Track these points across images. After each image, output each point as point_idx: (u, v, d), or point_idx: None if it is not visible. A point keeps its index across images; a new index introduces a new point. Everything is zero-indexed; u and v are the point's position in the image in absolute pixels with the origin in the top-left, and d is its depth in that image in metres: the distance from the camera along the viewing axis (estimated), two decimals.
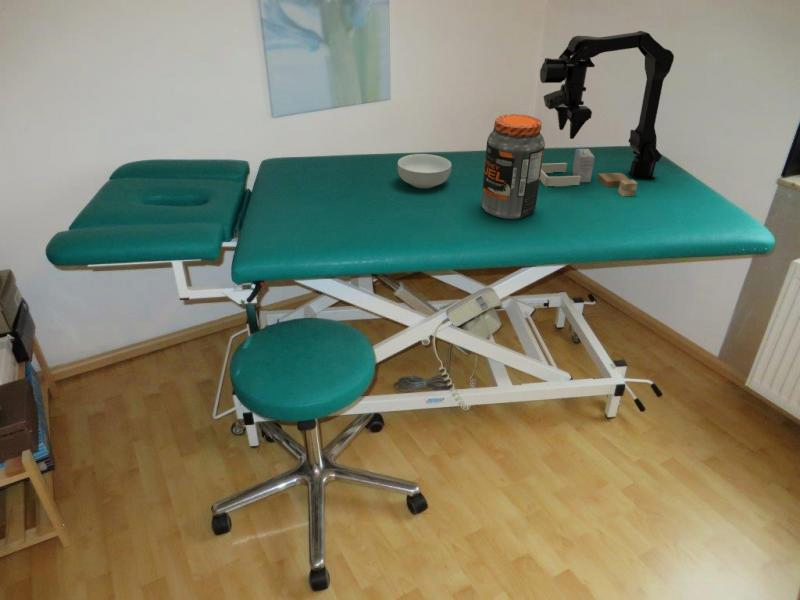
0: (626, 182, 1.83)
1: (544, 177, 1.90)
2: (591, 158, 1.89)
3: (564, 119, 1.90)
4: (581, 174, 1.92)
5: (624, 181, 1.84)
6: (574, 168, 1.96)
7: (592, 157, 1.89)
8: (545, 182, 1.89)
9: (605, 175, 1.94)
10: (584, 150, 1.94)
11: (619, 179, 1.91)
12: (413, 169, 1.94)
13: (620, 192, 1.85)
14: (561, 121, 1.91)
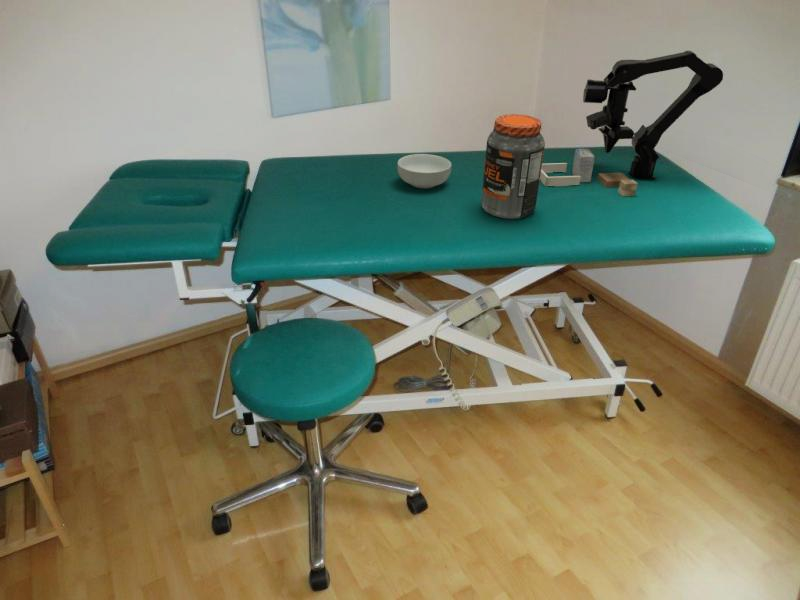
0: (626, 182, 1.83)
1: (544, 177, 1.90)
2: (591, 158, 1.89)
3: None
4: (581, 174, 1.92)
5: (624, 181, 1.84)
6: (574, 168, 1.96)
7: (592, 157, 1.89)
8: (545, 182, 1.89)
9: (605, 175, 1.94)
10: (584, 150, 1.94)
11: (619, 179, 1.91)
12: (413, 169, 1.94)
13: (620, 192, 1.85)
14: None
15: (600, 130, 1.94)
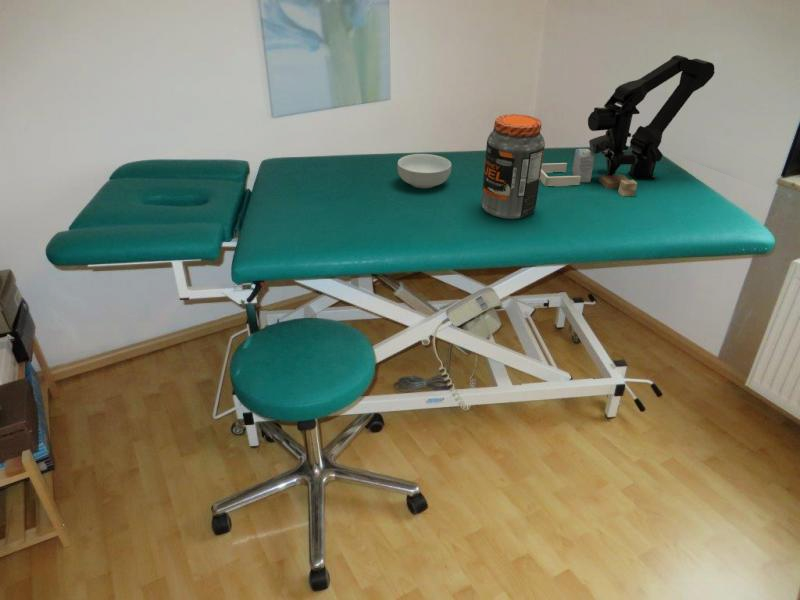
0: (626, 182, 1.83)
1: (544, 177, 1.90)
2: (591, 158, 1.89)
3: None
4: (581, 174, 1.92)
5: (624, 181, 1.84)
6: (574, 168, 1.96)
7: (592, 157, 1.89)
8: (545, 182, 1.89)
9: (606, 177, 1.93)
10: (584, 150, 1.94)
11: None
12: (413, 169, 1.94)
13: (620, 192, 1.85)
14: None
15: (603, 154, 1.93)
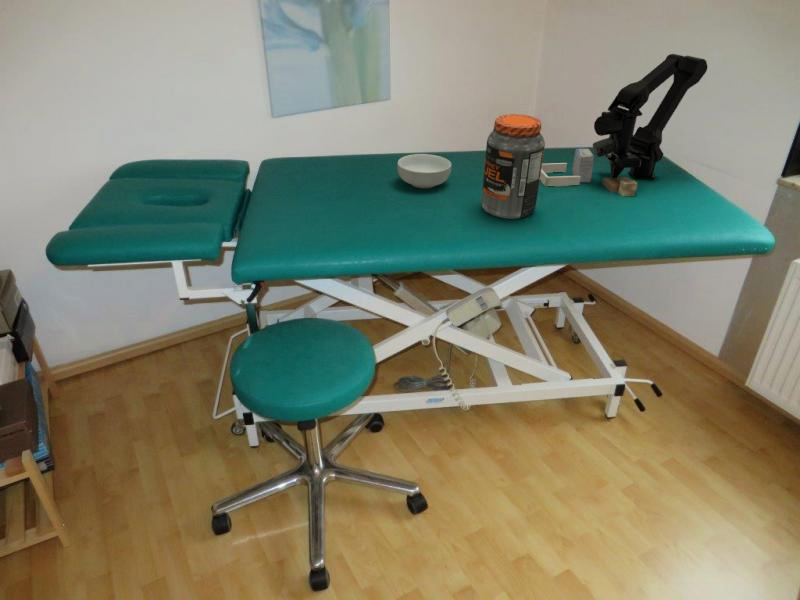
0: (626, 182, 1.83)
1: (544, 177, 1.90)
2: (591, 158, 1.89)
3: None
4: (581, 174, 1.92)
5: (624, 181, 1.84)
6: (574, 168, 1.96)
7: (592, 157, 1.89)
8: (545, 182, 1.89)
9: (611, 180, 1.90)
10: (584, 150, 1.94)
11: None
12: (413, 169, 1.94)
13: (620, 192, 1.85)
14: None
15: (606, 157, 1.90)
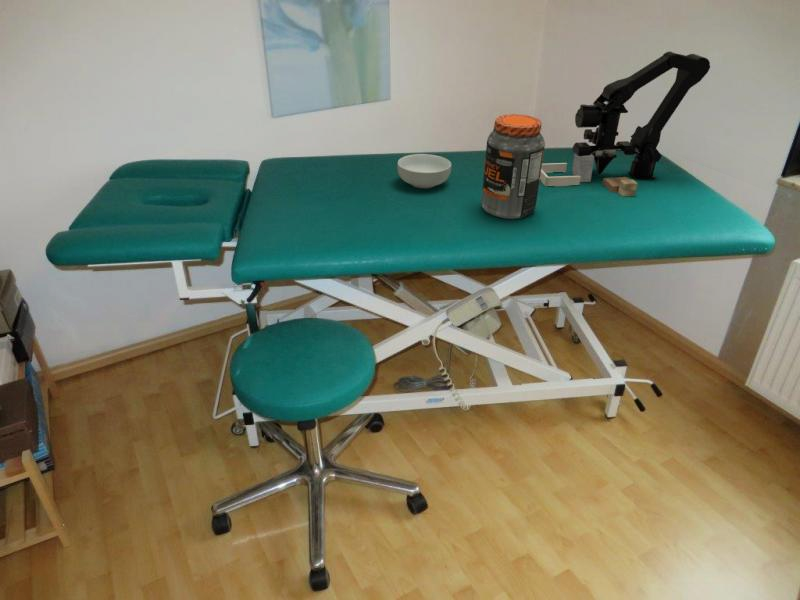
0: (626, 182, 1.83)
1: (544, 177, 1.90)
2: (590, 158, 1.89)
3: None
4: (581, 173, 1.92)
5: (624, 181, 1.84)
6: (574, 168, 1.96)
7: (592, 157, 1.89)
8: (545, 182, 1.89)
9: (611, 180, 1.90)
10: None
11: None
12: (413, 169, 1.94)
13: (620, 192, 1.85)
14: None
15: None
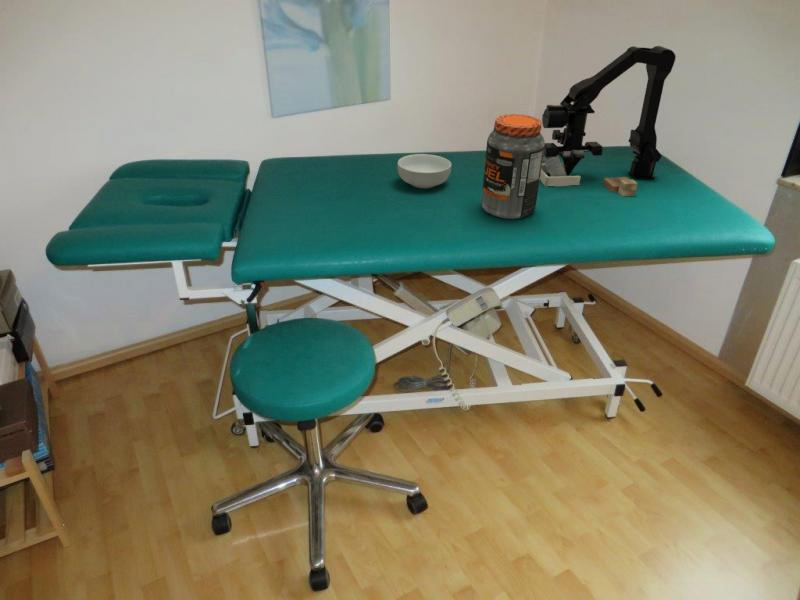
0: (626, 182, 1.83)
1: (544, 177, 1.90)
2: None
3: None
4: (553, 173, 1.92)
5: (624, 181, 1.84)
6: None
7: None
8: (545, 182, 1.89)
9: (611, 180, 1.90)
10: None
11: None
12: (413, 169, 1.94)
13: (620, 192, 1.85)
14: None
15: None
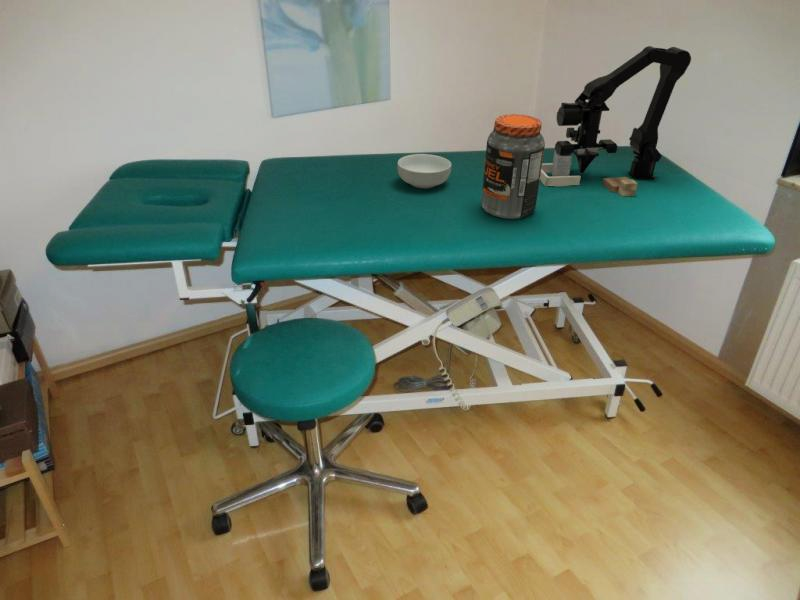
0: (626, 182, 1.83)
1: (544, 177, 1.90)
2: (568, 158, 1.89)
3: None
4: (558, 174, 1.91)
5: (624, 181, 1.84)
6: (553, 168, 1.96)
7: (569, 157, 1.89)
8: (545, 182, 1.89)
9: (611, 180, 1.90)
10: None
11: None
12: (413, 169, 1.94)
13: (620, 192, 1.85)
14: None
15: None
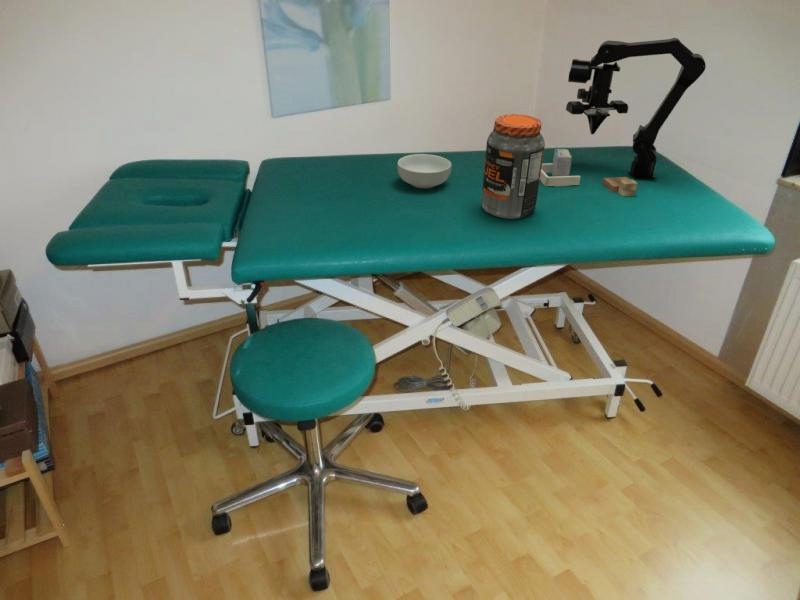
0: (626, 182, 1.83)
1: (544, 177, 1.90)
2: (568, 158, 1.89)
3: None
4: (558, 174, 1.91)
5: (624, 181, 1.84)
6: (553, 168, 1.96)
7: (569, 157, 1.89)
8: (545, 182, 1.89)
9: (611, 180, 1.90)
10: (562, 151, 1.93)
11: None
12: (413, 169, 1.94)
13: (620, 192, 1.85)
14: None
15: (596, 110, 1.97)
